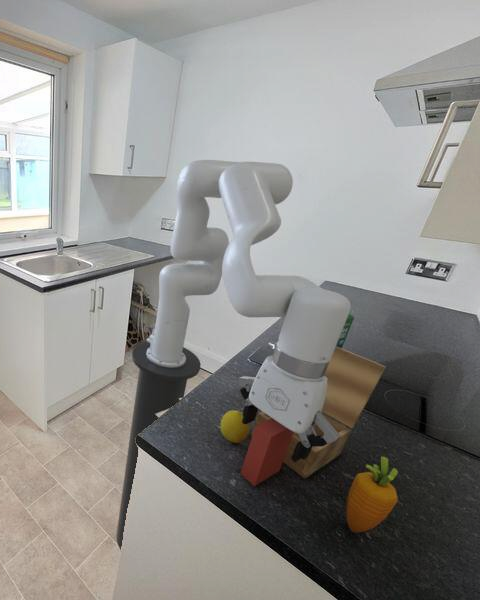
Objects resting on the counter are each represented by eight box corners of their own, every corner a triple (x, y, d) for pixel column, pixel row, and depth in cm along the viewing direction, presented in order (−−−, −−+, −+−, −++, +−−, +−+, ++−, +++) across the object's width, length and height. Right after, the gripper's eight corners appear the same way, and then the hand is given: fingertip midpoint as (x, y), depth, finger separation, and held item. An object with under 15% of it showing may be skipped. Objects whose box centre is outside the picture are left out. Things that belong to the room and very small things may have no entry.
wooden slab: (384, 366, 60) (386, 366, 60) (319, 340, 69) (320, 340, 70) (351, 428, 64) (353, 427, 64) (293, 395, 73) (295, 394, 74)
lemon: (233, 430, 72) (242, 402, 69) (250, 449, 67) (259, 420, 64) (212, 432, 71) (219, 404, 68) (226, 452, 66) (235, 422, 63)
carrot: (365, 554, 48) (406, 485, 43) (328, 525, 52) (361, 458, 47) (376, 536, 51) (416, 469, 45) (340, 510, 55) (373, 446, 49)
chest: (304, 478, 60) (315, 452, 58) (250, 437, 70) (258, 412, 68) (340, 454, 67) (351, 429, 64) (285, 419, 76) (294, 396, 74)
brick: (240, 473, 61) (255, 425, 57) (265, 459, 64) (281, 413, 60) (254, 486, 58) (271, 437, 54) (279, 470, 62) (297, 423, 58)
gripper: (239, 341, 58) (219, 414, 64) (347, 397, 44) (308, 484, 50) (264, 334, 61) (243, 404, 67) (372, 384, 47) (333, 467, 53)
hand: (271, 438), depth 59 cm, fingers open, 9 cm apart
